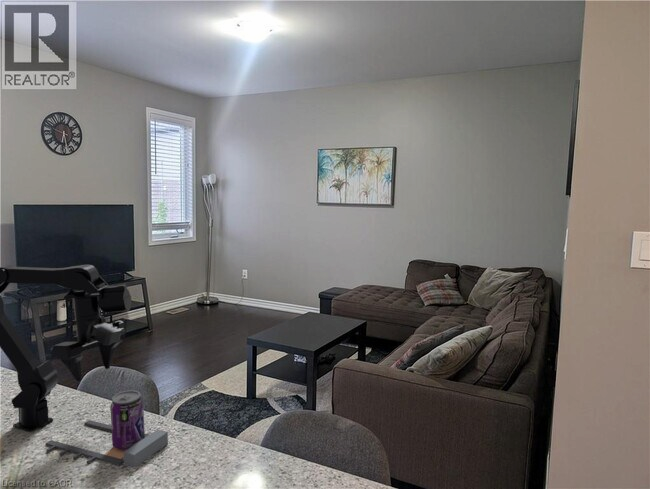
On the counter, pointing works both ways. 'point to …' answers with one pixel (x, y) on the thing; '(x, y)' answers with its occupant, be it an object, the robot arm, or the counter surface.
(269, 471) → the counter surface
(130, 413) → the beverage can
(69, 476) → the counter surface
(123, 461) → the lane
